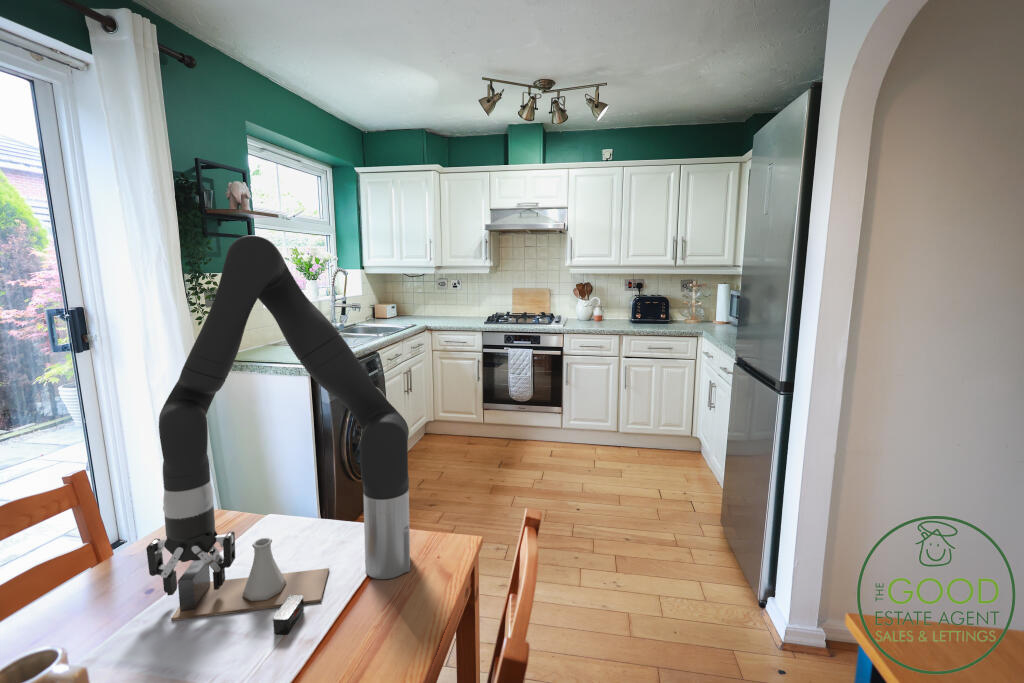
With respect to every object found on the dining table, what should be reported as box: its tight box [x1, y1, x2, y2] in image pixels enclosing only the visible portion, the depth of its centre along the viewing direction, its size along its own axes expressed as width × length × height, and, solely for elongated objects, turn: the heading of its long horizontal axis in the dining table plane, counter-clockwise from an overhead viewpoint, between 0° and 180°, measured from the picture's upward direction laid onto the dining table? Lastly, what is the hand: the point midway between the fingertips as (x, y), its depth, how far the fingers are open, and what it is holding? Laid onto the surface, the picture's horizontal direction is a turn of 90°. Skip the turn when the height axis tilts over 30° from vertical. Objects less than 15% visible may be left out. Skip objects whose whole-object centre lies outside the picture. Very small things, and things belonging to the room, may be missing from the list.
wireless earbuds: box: [272, 595, 305, 636], centre depth 84 cm, size 5×7×3 cm, turn 179°
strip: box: [170, 560, 330, 621], centre depth 91 cm, size 25×10×6 cm, turn 103°
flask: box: [242, 537, 286, 601], centre depth 91 cm, size 7×7×10 cm
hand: (195, 589), depth 88 cm, fingers open, 7 cm apart
